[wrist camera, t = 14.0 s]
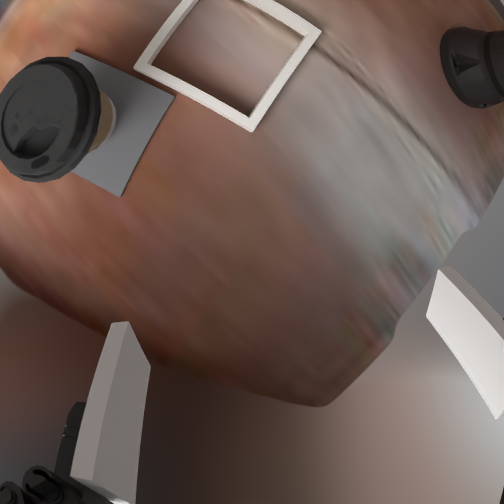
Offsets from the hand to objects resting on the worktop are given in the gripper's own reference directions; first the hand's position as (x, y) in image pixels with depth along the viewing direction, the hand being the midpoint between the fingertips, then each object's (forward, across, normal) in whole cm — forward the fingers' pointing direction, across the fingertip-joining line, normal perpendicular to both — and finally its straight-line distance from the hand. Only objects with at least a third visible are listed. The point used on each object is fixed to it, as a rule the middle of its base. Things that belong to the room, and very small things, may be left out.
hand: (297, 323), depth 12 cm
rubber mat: (+28, -18, +9) cm, 35 cm away
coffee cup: (+28, -18, +9) cm, 34 cm away
